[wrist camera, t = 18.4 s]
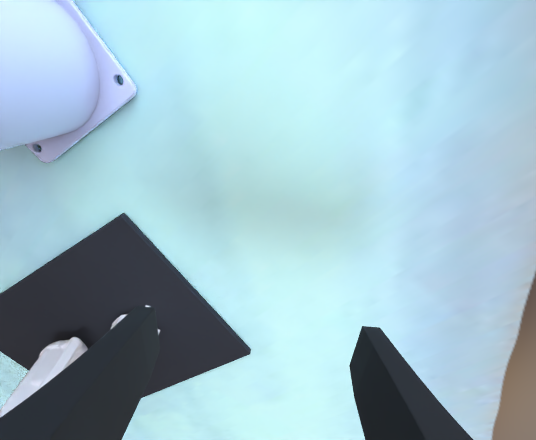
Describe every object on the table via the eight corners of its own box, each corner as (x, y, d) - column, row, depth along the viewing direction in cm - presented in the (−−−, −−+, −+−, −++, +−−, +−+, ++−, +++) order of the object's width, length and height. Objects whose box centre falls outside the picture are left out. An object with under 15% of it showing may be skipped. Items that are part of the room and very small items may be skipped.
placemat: (-37, 318, 25) (-43, 322, 24) (124, 212, 20) (120, 215, 19) (98, 411, 31) (96, 416, 30) (251, 349, 25) (250, 354, 25)
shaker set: (68, 368, 27) (-56, 538, 17) (36, 339, 25) (-122, 509, 15) (176, 337, 24) (107, 515, 14) (150, 302, 23) (50, 477, 13)
